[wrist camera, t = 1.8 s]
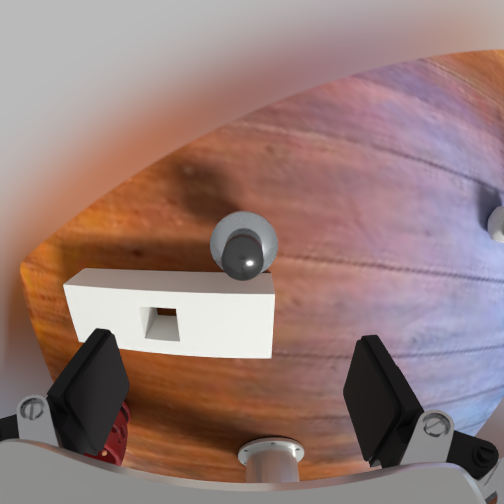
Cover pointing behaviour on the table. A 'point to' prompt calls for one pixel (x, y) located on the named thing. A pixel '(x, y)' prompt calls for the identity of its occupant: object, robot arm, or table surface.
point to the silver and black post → (243, 244)
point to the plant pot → (116, 439)
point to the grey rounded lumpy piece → (496, 224)
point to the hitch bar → (187, 308)
